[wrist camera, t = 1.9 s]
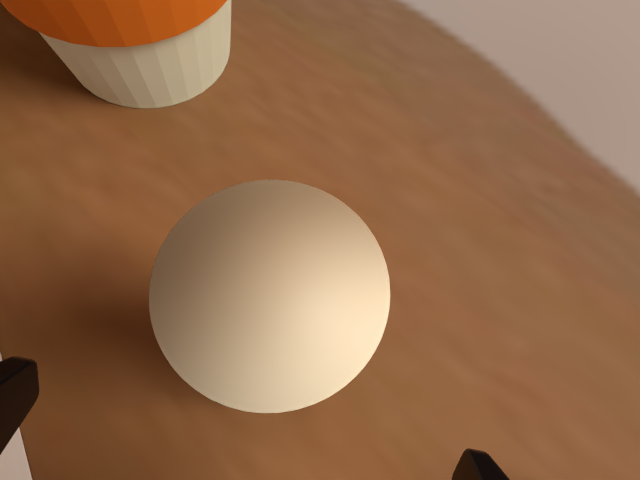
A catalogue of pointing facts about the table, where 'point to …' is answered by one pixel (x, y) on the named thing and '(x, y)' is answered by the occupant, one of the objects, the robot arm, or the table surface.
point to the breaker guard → (14, 459)
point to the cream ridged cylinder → (269, 296)
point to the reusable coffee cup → (135, 45)
